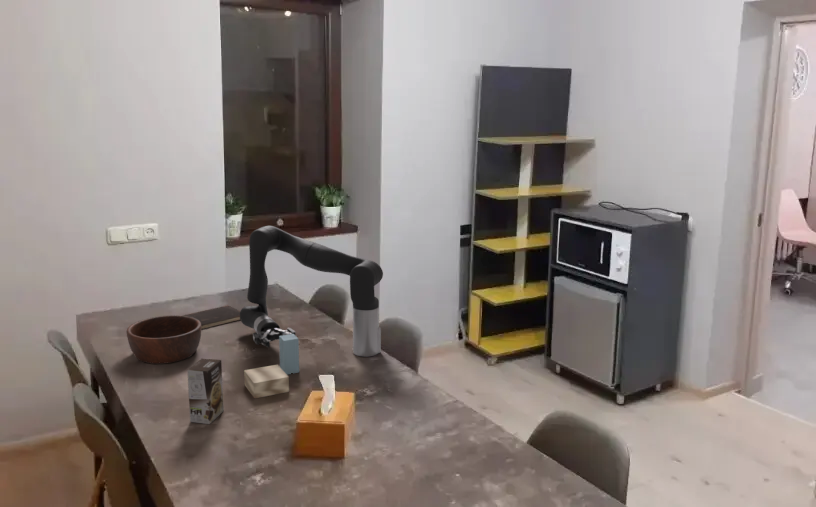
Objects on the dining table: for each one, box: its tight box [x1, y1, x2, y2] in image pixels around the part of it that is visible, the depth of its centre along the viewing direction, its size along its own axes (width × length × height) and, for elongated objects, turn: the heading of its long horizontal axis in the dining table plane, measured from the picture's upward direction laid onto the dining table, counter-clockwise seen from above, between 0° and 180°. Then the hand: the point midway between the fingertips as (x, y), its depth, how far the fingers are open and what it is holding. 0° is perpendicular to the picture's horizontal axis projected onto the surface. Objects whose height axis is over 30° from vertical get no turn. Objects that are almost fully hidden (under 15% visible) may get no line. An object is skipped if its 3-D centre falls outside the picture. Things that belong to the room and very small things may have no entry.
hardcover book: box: [181, 304, 241, 330], centre depth 287 cm, size 16×23×2 cm
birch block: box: [243, 363, 290, 399], centre depth 223 cm, size 11×11×5 cm
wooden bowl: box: [126, 314, 202, 365], centre depth 249 cm, size 25×25×10 cm
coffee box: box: [187, 358, 225, 425], centre depth 203 cm, size 9×6×16 cm
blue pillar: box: [278, 334, 300, 375], centre depth 236 cm, size 5×5×12 cm
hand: (280, 342), depth 243 cm, fingers open, 8 cm apart
